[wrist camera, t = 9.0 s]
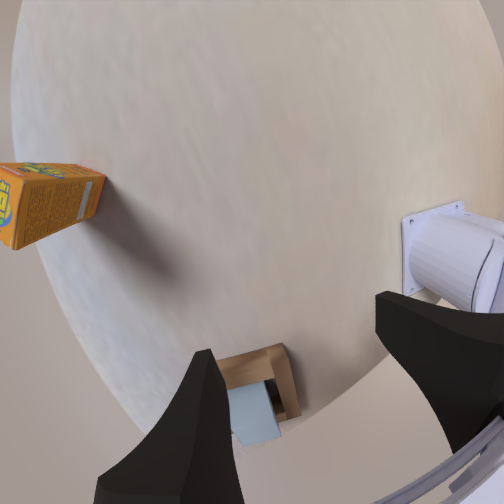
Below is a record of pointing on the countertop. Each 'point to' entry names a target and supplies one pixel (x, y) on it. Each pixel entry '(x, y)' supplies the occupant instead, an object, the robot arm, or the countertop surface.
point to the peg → (252, 414)
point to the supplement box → (44, 199)
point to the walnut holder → (264, 377)
